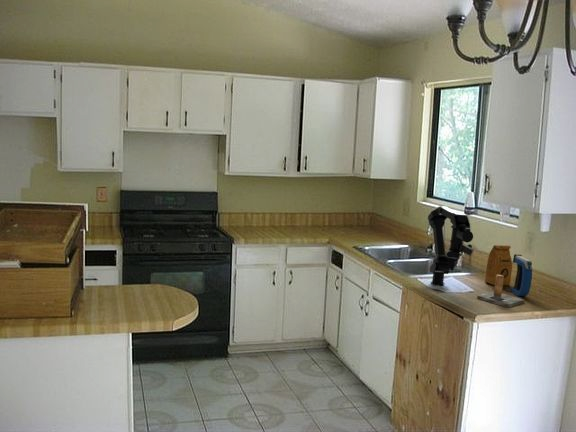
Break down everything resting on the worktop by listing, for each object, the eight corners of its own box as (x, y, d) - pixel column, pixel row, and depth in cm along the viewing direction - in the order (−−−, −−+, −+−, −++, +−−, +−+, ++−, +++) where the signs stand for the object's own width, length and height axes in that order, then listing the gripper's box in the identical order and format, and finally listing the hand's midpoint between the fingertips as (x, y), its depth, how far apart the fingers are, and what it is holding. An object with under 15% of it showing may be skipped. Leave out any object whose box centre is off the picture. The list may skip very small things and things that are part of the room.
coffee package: (512, 286, 320) (518, 247, 317) (492, 286, 317) (498, 246, 314) (501, 281, 330) (506, 243, 327) (482, 281, 327) (487, 242, 323)
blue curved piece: (516, 290, 313) (521, 254, 310) (529, 299, 297) (534, 261, 294) (508, 289, 313) (512, 253, 310) (520, 298, 297) (525, 260, 294)
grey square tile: (477, 298, 290) (477, 295, 290) (494, 294, 301) (494, 291, 301) (507, 307, 278) (507, 304, 278) (524, 302, 289) (524, 299, 289)
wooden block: (491, 300, 289) (495, 274, 287) (499, 301, 289) (503, 275, 287) (493, 302, 286) (497, 276, 284) (501, 303, 285) (504, 277, 283)
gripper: (472, 243, 282) (467, 275, 285) (475, 238, 300) (471, 268, 302) (448, 240, 286) (444, 271, 289) (452, 235, 304) (449, 264, 306)
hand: (453, 268), depth 296 cm, fingers open, 9 cm apart
